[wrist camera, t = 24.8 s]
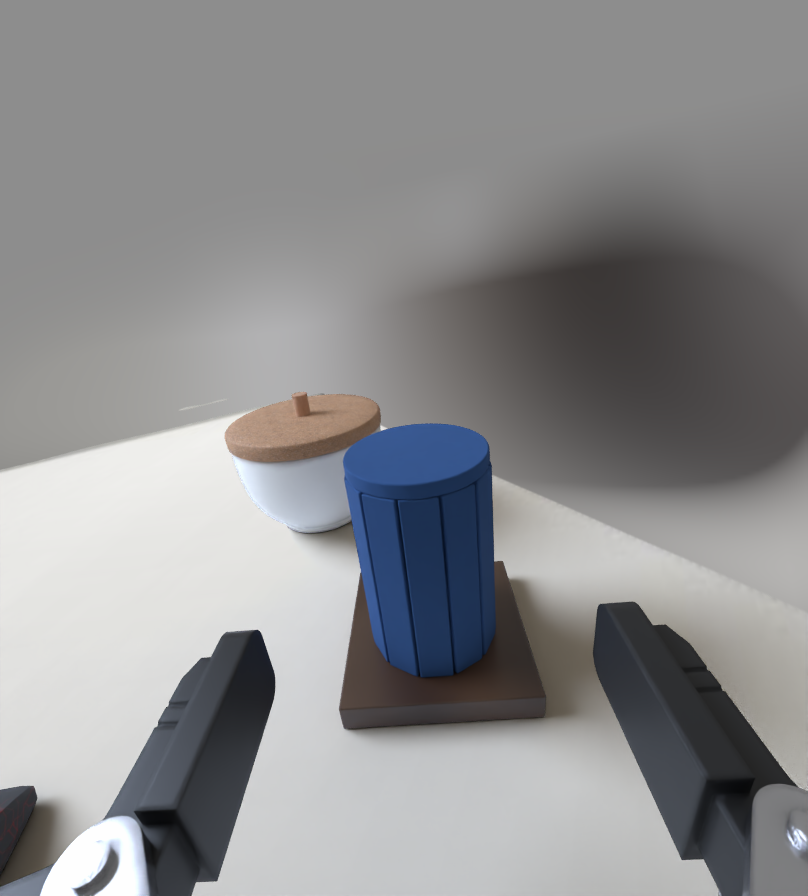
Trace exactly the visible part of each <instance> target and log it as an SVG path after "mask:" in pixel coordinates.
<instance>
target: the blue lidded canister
mask: <svg viewBox="0 0 808 896" xmlns="http://www.w3.org/2000/svg"><path fill="white" fill-rule="evenodd" d="M343 466H344V472H345V477H344V482H345V487H346V492H347V498H348V503H349V509H350V514H351V519H352V525H353V530H354V536H355V541H356V546H357V552H358V557H359V563H360V568H361V573H362V579H363V584H364V589H365V595H366V600H367V606H368V611H369V616H370V622H371V627H372V633H373V637H374V642H375V643H376V645H377V647H378V648H379V650H380V651H381V653H382V654H383V656H384V658H385V659H386V661H387V662H389V661H390V665H392V666H394V667H396V668H399V669H401V670H403V671H405V672H408V673H410V674H412V675H414V676H416V677H417V676H418V675H419V673H420V675H421V677H437V676H452V675H453V674H454V670H455V672H456V673H459V672H461V671H463V670H464V669H466V668H468V667H469V666H471V665H472V664H474V663H476V662H477V661H479V660H480V659H482V655H485V654H486V652H487V650H488V648H489V646H490V644H491V641H492V639H493V637H494V635H495V629H496V614H495V576H494V538H493V500H492V465H491V462H490V452H489V445H488V442H487V441H486V439H485V438H484V437H483V436H482V435H480V434H478V433H476V432H475V431H473V430H470V429H467V428H464V427H460V426H455V425H448V424H413V425H406V426H399V427H394V428H390V429H386V430H383V431H380V432H377V433H374V434H371V435H369V436H367V437H365V438H363V439H361V440H359V441H358V442H356V443H355V444H353V445H352V446H351V447H350V448H349V449H348V450H347V452H346V453H345V455H344V458H343ZM453 669H454V670H453Z"/></svg>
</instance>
